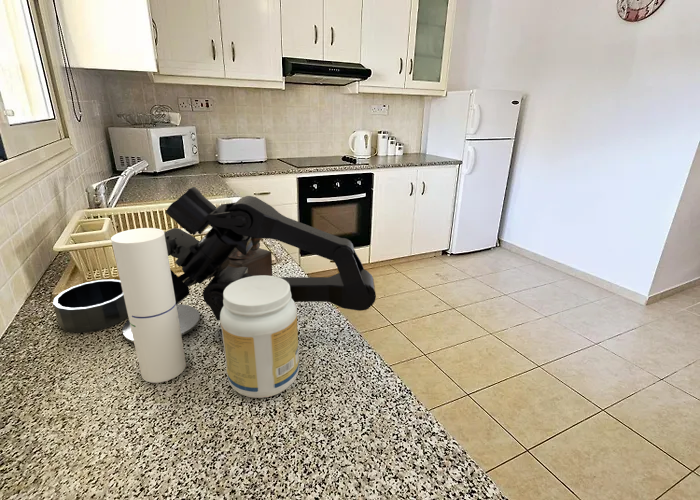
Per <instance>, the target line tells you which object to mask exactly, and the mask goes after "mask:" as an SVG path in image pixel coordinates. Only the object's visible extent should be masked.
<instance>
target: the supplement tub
mask: <svg viewBox="0 0 700 500" xmlns="http://www.w3.org/2000/svg"><path fill="white" fill-rule="evenodd" d="M279 277H280V276H276V275H275V276H274V275H272V276H268V275H260V276H251V277H246V278H242V279H239V280H237V281H234V282H233V283H231V284H229V285H228V286H227V287H226V288H225V290H224V292H223V297H224V299H223V304H224V306H223V308H222V310H221V313H220V320H219V323H220V329H222V337H223V341H222V343H223V351H224V359H225V367H226V376H227V380H228V383H229V386H230V387H231V388H232V389H233V390H234V392H237V393H238V394H240V395H242V396H245V397H249V398H254V399H257V398H258V399H262V398H264V399H265V398H269V397H273V396H276V395H278V394H281V393H282V392H284V391H285V390H287V389H288V388H289V387H290V386H292V385H293V383H294V382H295V380H296V379H297V377H298V374H299V372H300V355H299V353H300V352H299V333H298V332H299V331H298V330H299V329H298V309H297V304H296V302H294V301H293V299H292V298H291V296H292V295H291V291H290V285H289V283H288V282H287V281H285V280H284V279H282V278H279Z"/></svg>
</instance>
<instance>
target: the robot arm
mask: <svg viewBox="0 0 700 500" xmlns="http://www.w3.org/2000/svg"><path fill="white" fill-rule="evenodd" d="M165 214H166V215H167V216H168V217H169V218H170V219H171V220H173V221H174V222H175V223H176V224H177V225H179V226H180V227H181V228H182V229H181V228H179V227H173V228H171V229H169V230H167V231H164V234H165V240H166V246H167V252H168V257H170V256H171V257H173V258H175V259H176V260H175V261H174V263H175V264H176V265H177V267H179V268H181V270H182V272H183V273H182V274H180V275H179V276H178V275H177V274H176V273H175V272H174V271H173V270H172V269H170V270H171V276H172V282H173V288H174V294H175V300H176V305H177V304H180V303H181V302H183V301H184V300H185V299H186V298H187V297H188V296H189V295H190V287H191V286H194V285H196V284H199V285H201V284H202V283H204V282H205V281H207V280H209V279H211V278H212V279H211V280H210V281H209V282H208V284H206V286H205V287H204V289H203V292H202V298H203V301H204V303H205V304H206V305H207V306H208V307H209V308H210V310H211V312H212V313H213V315H214V317H215V319H216V320H217V321H220V313H221V310H222V308H223V306H224V304H223V299H224V297H223V292H224V290H225V288H226V287H227V286H228V285H229V284H231V283H233V282H234V281H237V280H239V279H242V278H246V277H251V276H252V275H250V274H248V273H247V270H248V268H247V267H239V268H234V267H230V266H228V265H229V264H230V260H229V256H230V255H231V254H232V253H233V252H234V251H235V250H236V249H238V250H239V251H240V252H241V253H242V254H244V255H246V254H247V253H248V252H249V250H250V249H251V248H252V246H253V244H252V241H251V237H252V238H262V239H267V240H269V239H270V240H276V241H278V242H281V243H283V244H285V245H289V246H291V247H295V248H296V249H300V250H302V251H304V252H308V253H310V254H313V255H316V256H318V257H321V258H324V259H326V260H329V261H332V262H334V264H335V266H336V268H337V271H338V273H335V274H334V275H330V276H318V277H317V276H299V277H298V276H291V277H290V276H289V277H288V276H278V277H279V278H282V279H284V280H285V281H287V282H288V283H289V285H290V291H291V295H292V296H291V298H292V299H293V301H294V302H295V303H330V304H332V305H334V306H337V307H339V308H341V309H345V310H351V311H357V312H362V311H367V310H369V309H370V308H371V307H372V306H373V305H374V303H375V302H376V298H377V293H376V287H375V280H374V277H373V275H372V274H371V273H370V272H369V271H368V270H367V269H365V268H364V266H363V263H362V261H361V259H360V258H359V256H358V254H357V252H356V250H355V248H354V247H355V246H354V244H353V243H352V241H351V240H350V239H348V238H345V237H339V236H337V235H334V234H332V233H329V232H326V231H324V230H321V229H318V228H317V227H313V226H312V225H311V226H310V225H308V224H305V223H303V222H300V221H297V220H295V219H292V218H290V217H286V216H285V215H284V214H282V213H280V212H279V211H278V210H276V208H274V207H273V206H271V205H270V204H269V203H267V202H265V201H264V200H262V199H260V198H258V197H257V196H253V195H246V196H243V197H241V198H239V199H238V200H237V201H236V202H235V201H234V202H228V203H221V204H220V205H219V206H218V207H217V206H216V205H214V203H212V202H211V201H210V200H209V199H208V198H207V197H205V195H203V194H202V192H201V191H200V190H199V188H197V187H195V186H191V187H190V188H188V189H187V190H186V191H185V192H184V193H183V194H182V195H181V196H180V197H178V199H176V200H175V201H173V202H172V203H171V204H170V205H169V206H168V207H167V209H166V210H165ZM209 227H211V229H209V230H208V232H207V233H206V234H205V235H204V236H203V237H202V238H201V239H200V240H198V239H197V238H196V237H195V235H196V234H199V235H202V234H203V233H204V232H205V231H206V230H207V229H208V228H209ZM183 229H184V230H183ZM227 266H228V267H227ZM226 267H227V268H226ZM225 268H226V269H225ZM223 269H224V270H223ZM218 334H219V336H220V338H221V342H223V337H222V329H221V328H219V330H218Z"/></svg>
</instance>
